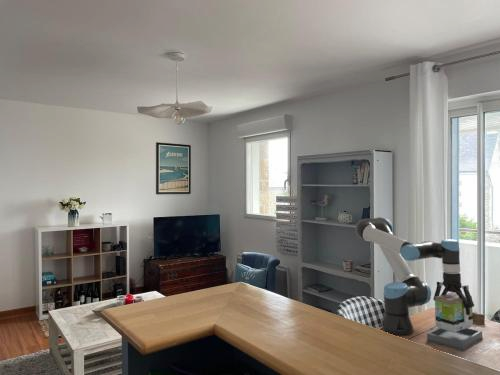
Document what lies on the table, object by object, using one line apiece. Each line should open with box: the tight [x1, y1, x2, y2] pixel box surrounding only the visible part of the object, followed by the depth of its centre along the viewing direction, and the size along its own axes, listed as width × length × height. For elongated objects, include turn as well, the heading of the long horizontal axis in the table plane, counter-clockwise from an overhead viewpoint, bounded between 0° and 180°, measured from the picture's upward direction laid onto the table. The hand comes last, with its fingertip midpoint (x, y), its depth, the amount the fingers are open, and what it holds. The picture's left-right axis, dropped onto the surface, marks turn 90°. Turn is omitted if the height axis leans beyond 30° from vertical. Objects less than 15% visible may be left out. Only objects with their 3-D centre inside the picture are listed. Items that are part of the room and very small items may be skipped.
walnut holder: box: [472, 311, 486, 325], centre depth 197 cm, size 12×19×5 cm, turn 127°
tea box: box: [434, 292, 474, 332], centre depth 180 cm, size 15×10×15 cm
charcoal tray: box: [426, 327, 483, 352], centre depth 179 cm, size 16×21×4 cm
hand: (454, 318), depth 180 cm, fingers closed on tea box, 10 cm apart
